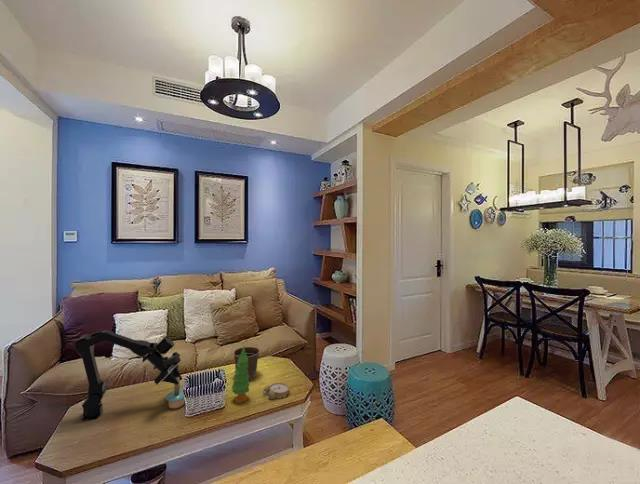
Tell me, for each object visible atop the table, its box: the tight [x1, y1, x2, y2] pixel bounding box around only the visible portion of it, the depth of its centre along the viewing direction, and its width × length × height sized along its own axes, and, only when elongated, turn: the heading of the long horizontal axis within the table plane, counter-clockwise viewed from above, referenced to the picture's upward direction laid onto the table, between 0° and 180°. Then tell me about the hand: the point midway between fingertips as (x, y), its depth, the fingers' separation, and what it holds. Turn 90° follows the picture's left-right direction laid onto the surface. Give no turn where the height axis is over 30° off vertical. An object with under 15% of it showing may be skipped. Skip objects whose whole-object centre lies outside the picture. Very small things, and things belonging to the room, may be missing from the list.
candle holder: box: [262, 382, 291, 400], centre depth 161 cm, size 11×5×15 cm
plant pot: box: [232, 346, 261, 381], centre depth 180 cm, size 16×16×16 cm
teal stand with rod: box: [165, 377, 184, 402], centre depth 149 cm, size 10×10×10 cm
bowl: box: [168, 399, 185, 410], centre depth 149 cm, size 7×7×4 cm
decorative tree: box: [231, 346, 250, 404], centre depth 155 cm, size 10×9×30 cm
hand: (179, 381), depth 149 cm, fingers open, 4 cm apart
